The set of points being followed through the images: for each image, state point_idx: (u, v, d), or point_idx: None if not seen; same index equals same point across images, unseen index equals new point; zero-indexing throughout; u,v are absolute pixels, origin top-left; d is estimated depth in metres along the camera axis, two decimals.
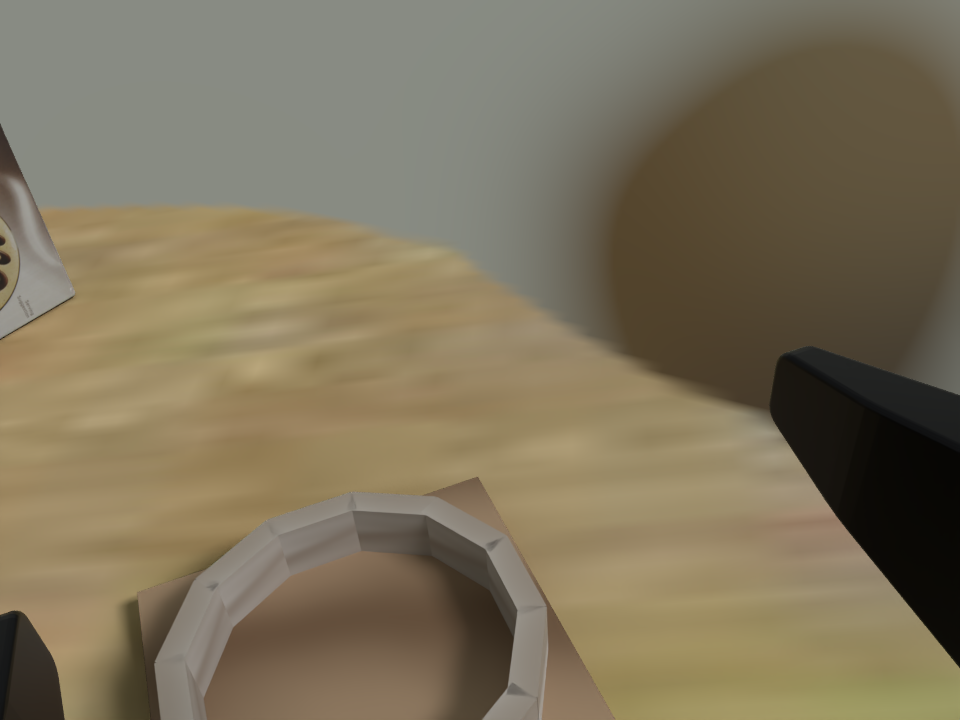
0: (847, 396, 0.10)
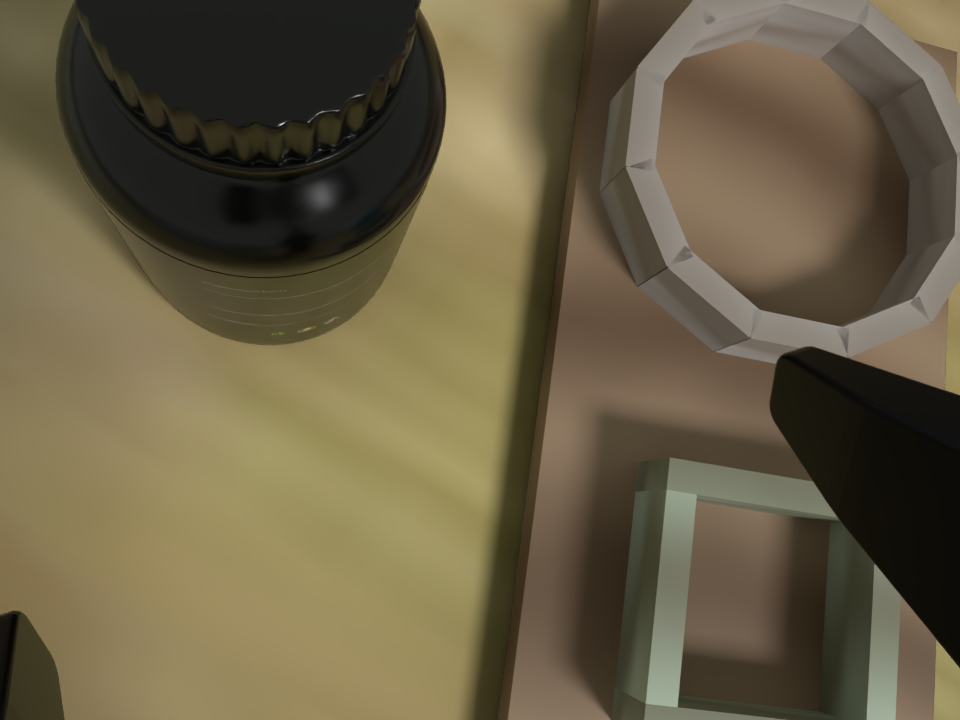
0: (847, 396, 0.10)
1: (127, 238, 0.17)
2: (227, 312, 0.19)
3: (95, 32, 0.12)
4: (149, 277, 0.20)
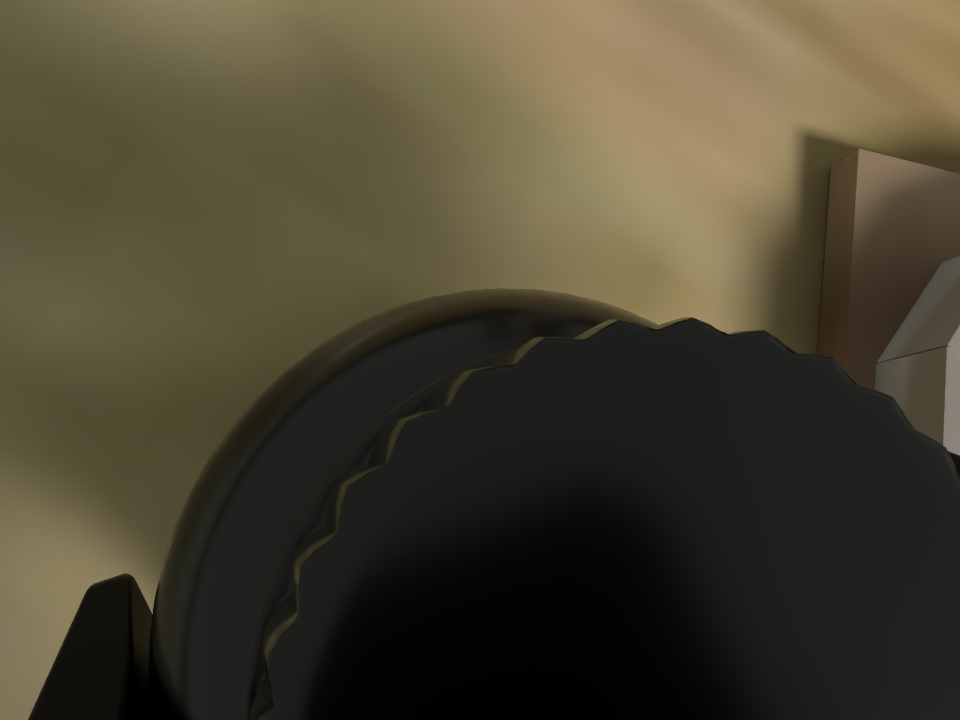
0: None
1: None
2: None
3: None
4: None
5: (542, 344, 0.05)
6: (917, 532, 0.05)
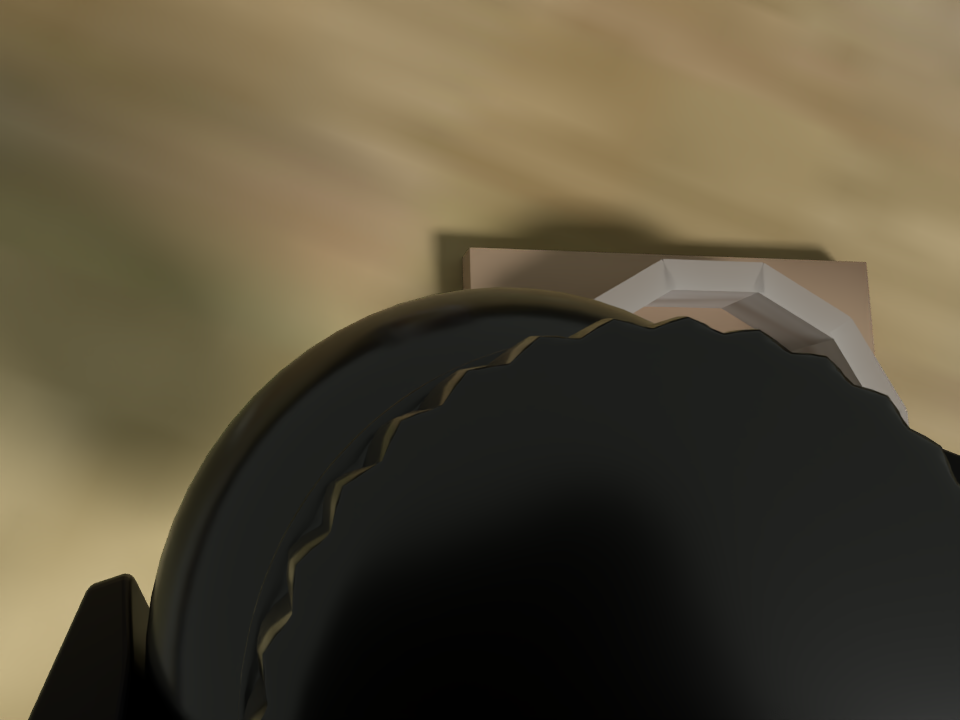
0: None
1: None
2: None
3: None
4: None
5: (537, 343, 0.05)
6: (912, 532, 0.05)
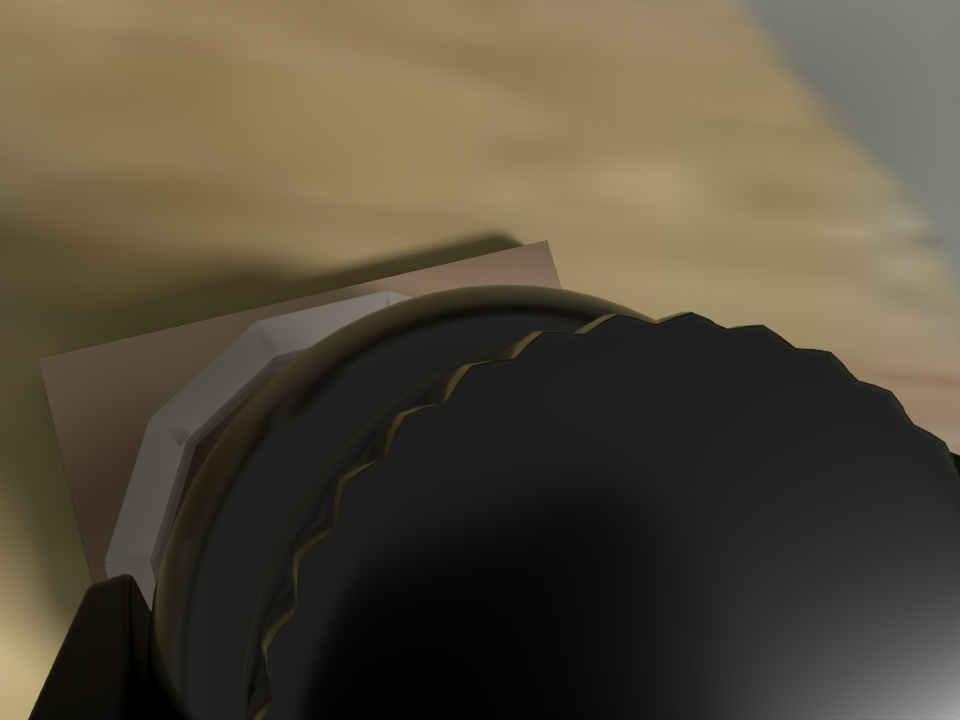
0: None
1: None
2: None
3: None
4: None
5: (541, 339, 0.05)
6: (915, 528, 0.05)
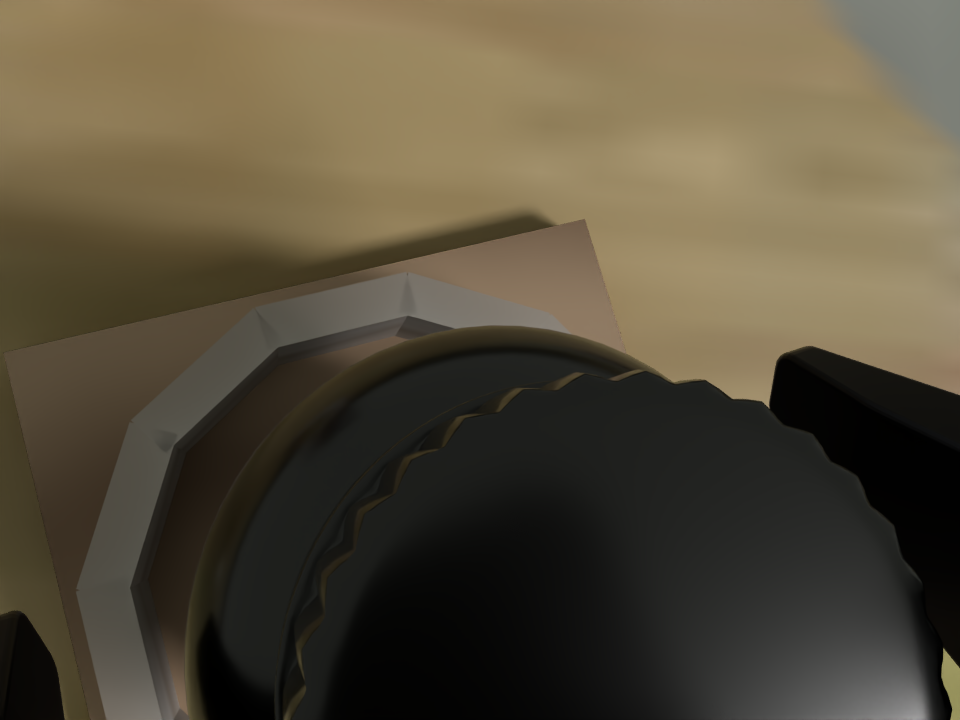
0: (847, 396, 0.10)
1: None
2: None
3: None
4: None
5: (521, 395, 0.06)
6: (831, 547, 0.06)
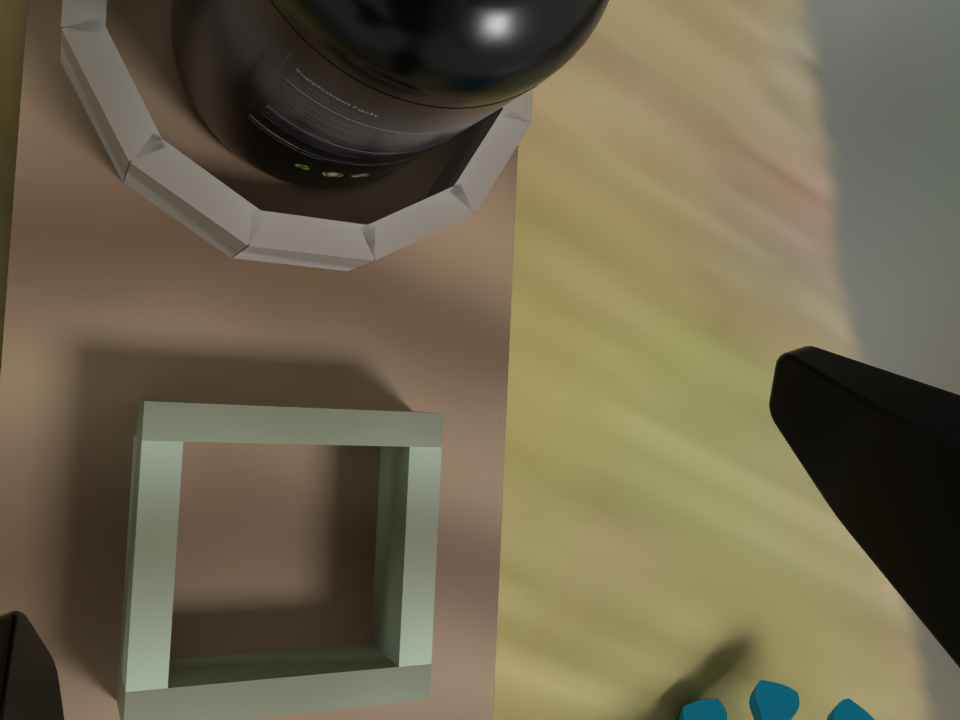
0: (847, 396, 0.10)
1: None
2: (279, 119, 0.17)
3: None
4: (190, 51, 0.18)
5: None
6: None
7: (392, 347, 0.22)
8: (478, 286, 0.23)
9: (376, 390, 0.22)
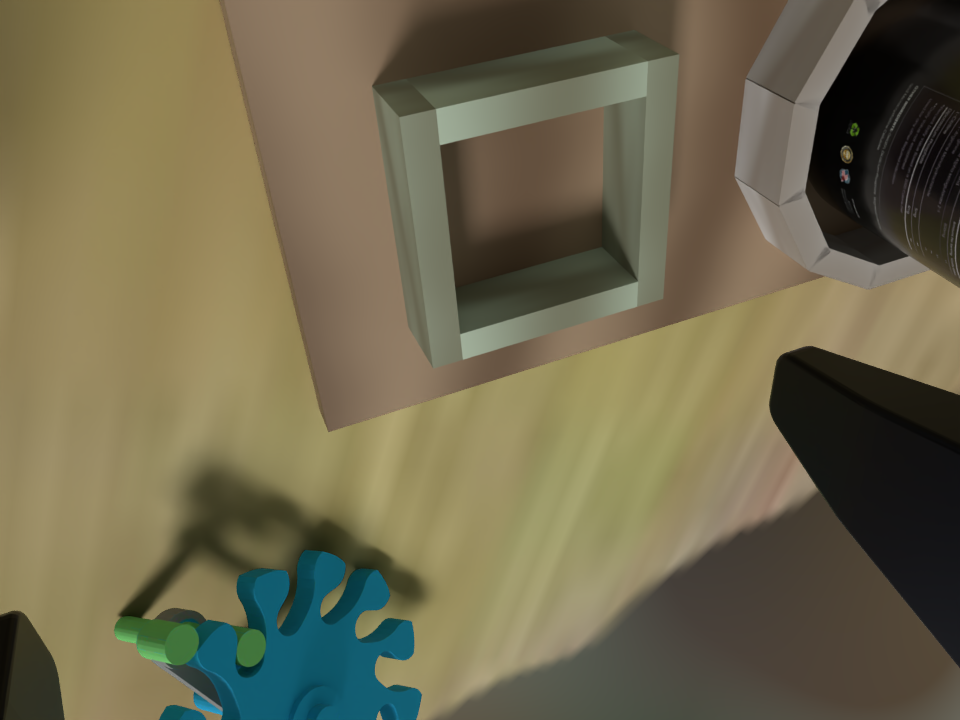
0: (847, 396, 0.10)
1: None
2: (933, 118, 0.21)
3: None
4: (944, 18, 0.21)
5: None
6: None
7: (675, 231, 0.25)
8: (721, 283, 0.27)
9: None
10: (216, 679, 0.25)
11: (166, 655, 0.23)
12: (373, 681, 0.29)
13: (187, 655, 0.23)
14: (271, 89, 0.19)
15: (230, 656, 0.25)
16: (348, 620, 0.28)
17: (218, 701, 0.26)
